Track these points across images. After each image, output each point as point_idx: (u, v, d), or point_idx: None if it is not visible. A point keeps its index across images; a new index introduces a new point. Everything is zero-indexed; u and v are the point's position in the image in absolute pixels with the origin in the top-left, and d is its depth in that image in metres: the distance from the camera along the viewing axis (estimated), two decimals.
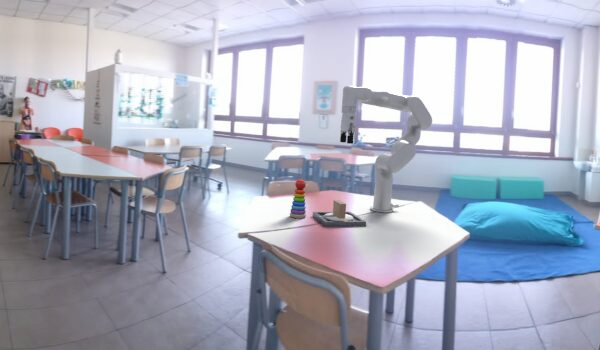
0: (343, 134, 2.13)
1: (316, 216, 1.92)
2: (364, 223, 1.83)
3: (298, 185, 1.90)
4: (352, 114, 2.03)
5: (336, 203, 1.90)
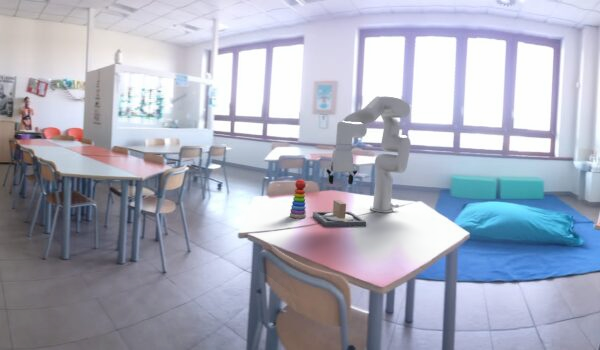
0: None
1: (316, 216, 1.92)
2: (364, 223, 1.83)
3: (298, 185, 1.90)
4: None
5: (336, 203, 1.90)
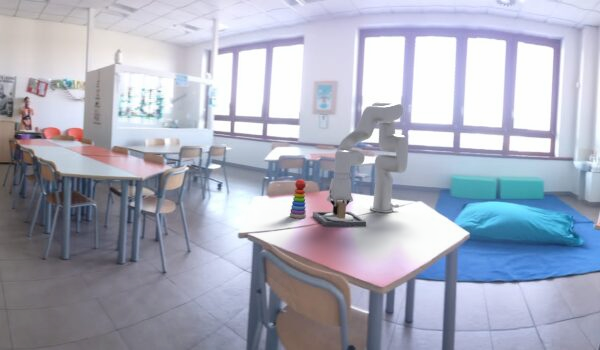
0: None
1: (316, 216, 1.92)
2: (364, 223, 1.83)
3: (298, 185, 1.90)
4: None
5: None
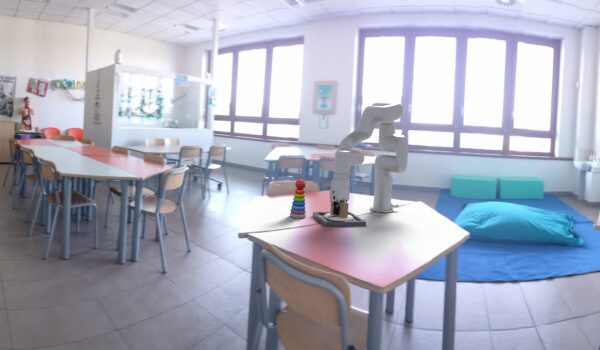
0: None
1: (316, 216, 1.92)
2: (364, 223, 1.83)
3: (298, 185, 1.90)
4: None
5: None
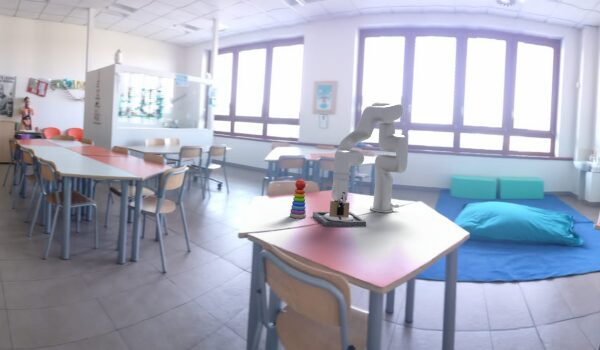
0: None
1: (316, 216, 1.92)
2: (364, 223, 1.83)
3: (298, 185, 1.90)
4: None
5: None
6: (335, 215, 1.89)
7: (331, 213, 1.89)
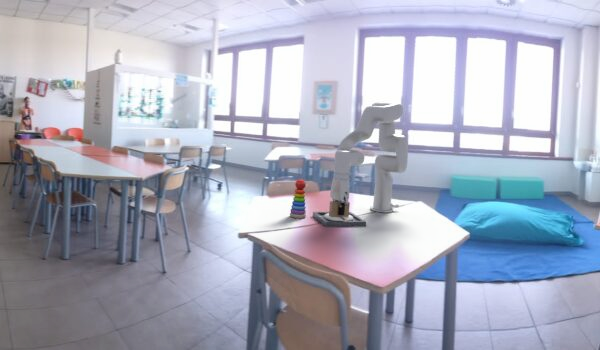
0: None
1: (316, 216, 1.92)
2: (364, 223, 1.83)
3: (298, 185, 1.90)
4: None
5: None
6: (336, 215, 1.88)
7: (332, 214, 1.88)
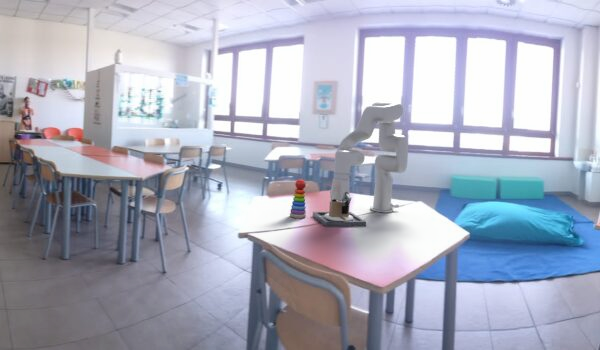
0: None
1: (316, 216, 1.92)
2: (364, 223, 1.83)
3: (298, 185, 1.90)
4: None
5: (340, 204, 1.88)
6: (336, 215, 1.88)
7: (332, 214, 1.88)
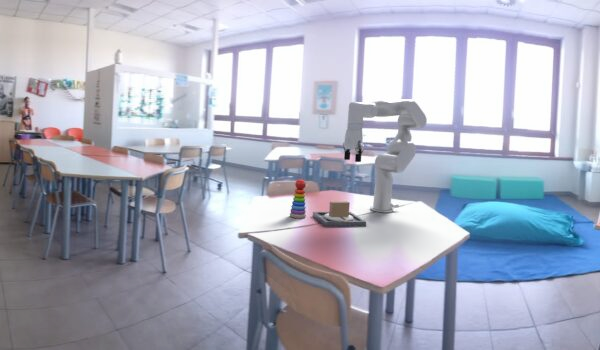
0: None
1: (316, 216, 1.92)
2: (364, 223, 1.83)
3: (298, 185, 1.90)
4: None
5: (340, 204, 1.88)
6: (336, 215, 1.88)
7: (332, 214, 1.88)
